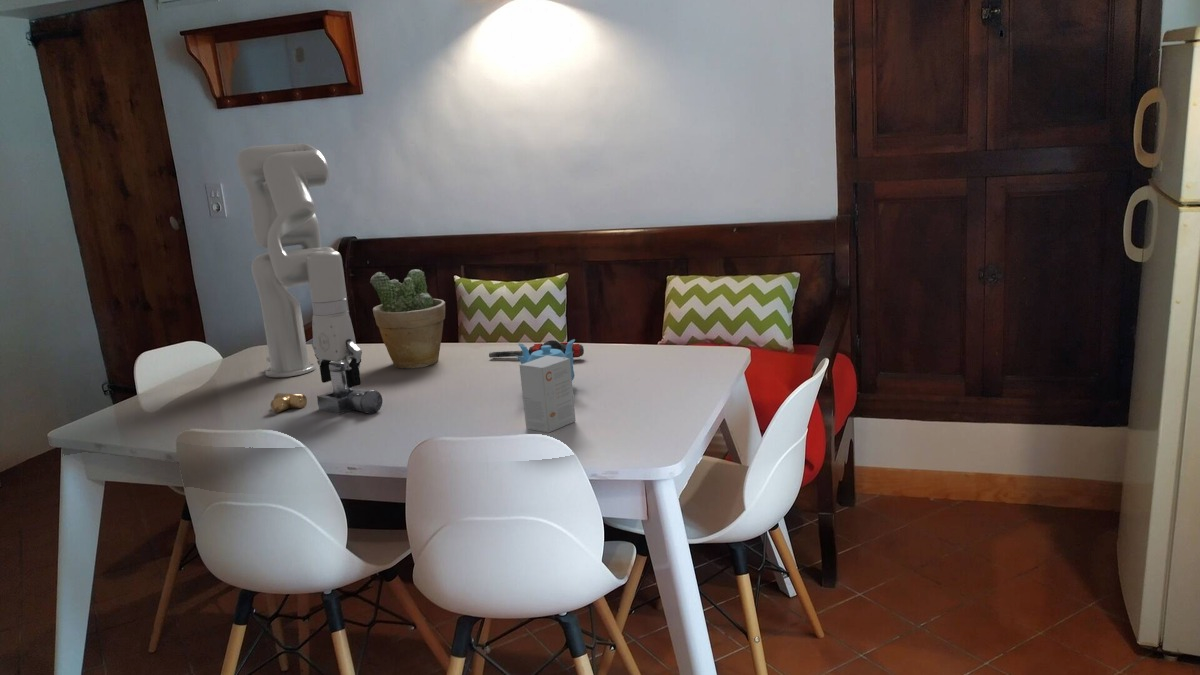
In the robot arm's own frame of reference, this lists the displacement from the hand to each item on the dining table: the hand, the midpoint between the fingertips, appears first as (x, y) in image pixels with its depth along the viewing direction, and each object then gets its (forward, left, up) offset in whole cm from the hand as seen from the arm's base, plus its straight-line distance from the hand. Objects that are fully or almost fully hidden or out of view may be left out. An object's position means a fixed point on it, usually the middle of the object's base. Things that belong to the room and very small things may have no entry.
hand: (341, 383), depth 207 cm
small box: (+52, +12, -6) cm, 54 cm away
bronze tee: (-12, -7, -5) cm, 15 cm away
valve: (+10, +53, -6) cm, 54 cm away
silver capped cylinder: (0, 0, -5) cm, 5 cm away
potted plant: (-17, +34, -6) cm, 38 cm away
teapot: (+34, +31, -6) cm, 46 cm away
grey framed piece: (+4, 0, -5) cm, 6 cm away
